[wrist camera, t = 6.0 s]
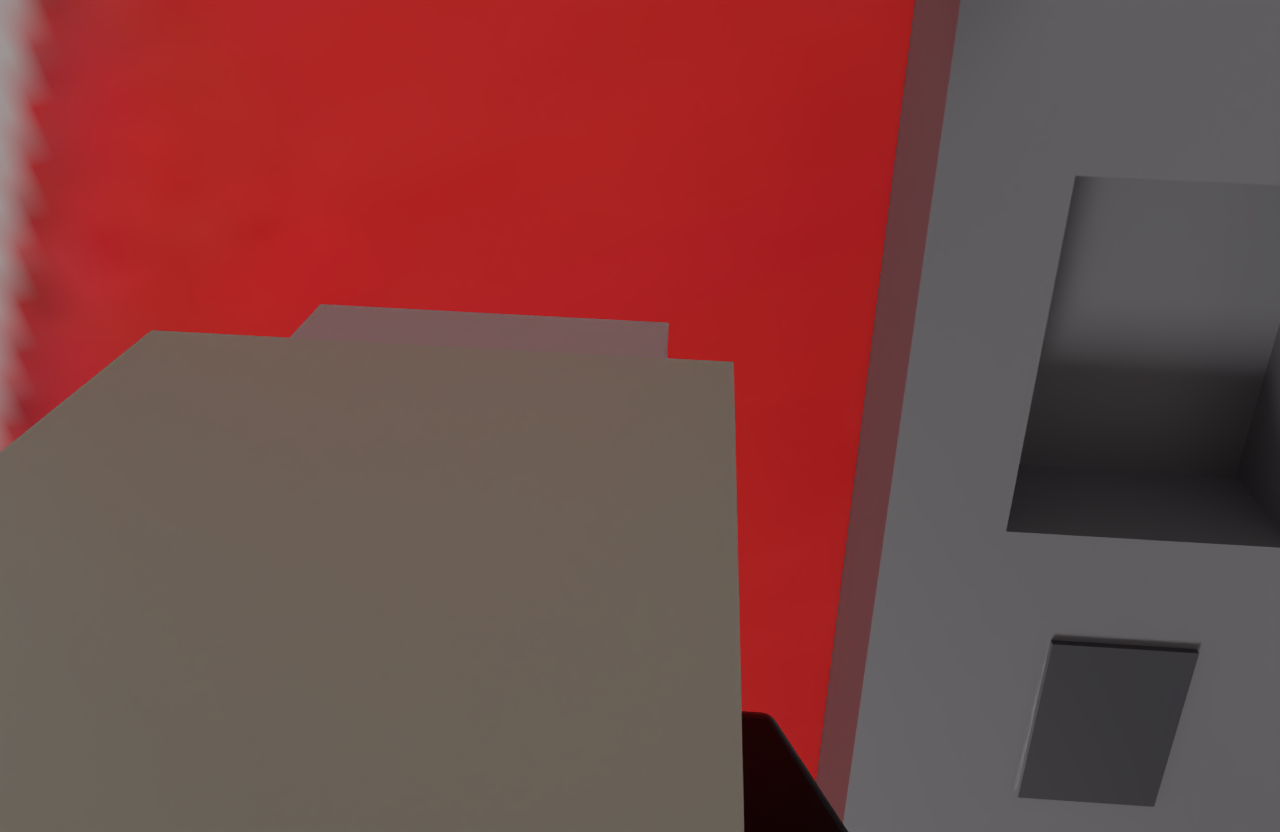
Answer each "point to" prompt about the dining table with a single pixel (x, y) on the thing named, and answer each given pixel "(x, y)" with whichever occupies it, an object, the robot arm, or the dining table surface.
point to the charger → (377, 584)
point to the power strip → (1070, 432)
